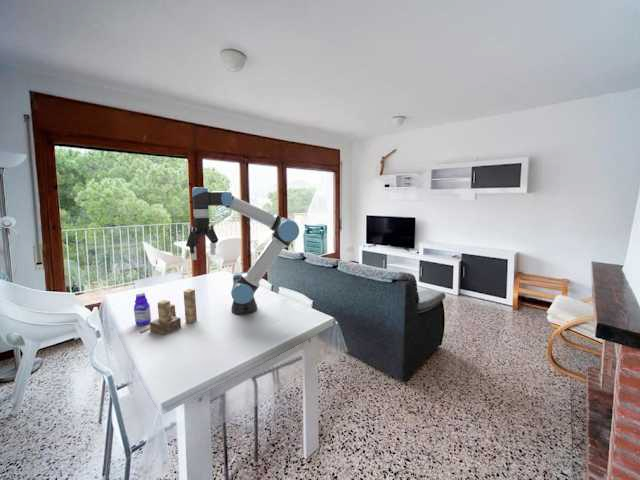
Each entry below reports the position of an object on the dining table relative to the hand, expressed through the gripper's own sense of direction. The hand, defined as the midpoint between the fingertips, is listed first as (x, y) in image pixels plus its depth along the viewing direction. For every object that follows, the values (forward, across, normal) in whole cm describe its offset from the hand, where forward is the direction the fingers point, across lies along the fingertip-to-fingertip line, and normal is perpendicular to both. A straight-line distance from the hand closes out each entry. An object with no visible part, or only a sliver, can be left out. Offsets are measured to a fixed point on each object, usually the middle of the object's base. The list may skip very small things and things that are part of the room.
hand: (204, 257), depth 152 cm
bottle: (+37, +15, -31) cm, 51 cm away
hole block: (+37, +15, -14) cm, 42 cm away
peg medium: (+37, +15, -14) cm, 42 cm away
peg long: (+37, +3, -9) cm, 38 cm away
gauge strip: (+37, +15, -22) cm, 46 cm away
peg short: (+37, +3, -25) cm, 45 cm away
